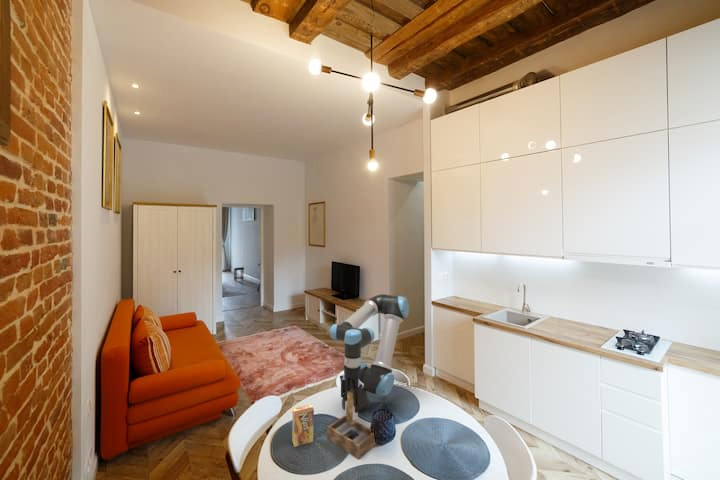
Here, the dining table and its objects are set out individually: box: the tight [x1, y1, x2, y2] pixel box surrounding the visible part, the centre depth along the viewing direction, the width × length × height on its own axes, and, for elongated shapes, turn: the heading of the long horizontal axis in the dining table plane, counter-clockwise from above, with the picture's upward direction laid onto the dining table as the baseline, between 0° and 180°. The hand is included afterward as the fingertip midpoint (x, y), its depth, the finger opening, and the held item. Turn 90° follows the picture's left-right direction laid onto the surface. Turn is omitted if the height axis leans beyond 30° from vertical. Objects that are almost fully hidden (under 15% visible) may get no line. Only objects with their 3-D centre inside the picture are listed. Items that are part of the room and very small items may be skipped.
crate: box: [326, 415, 377, 460], centre depth 135 cm, size 19×12×6 cm, turn 49°
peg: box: [347, 389, 356, 425], centre depth 134 cm, size 4×4×14 cm
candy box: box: [291, 404, 315, 448], centre depth 134 cm, size 9×4×15 cm, turn 116°
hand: (351, 416), depth 134 cm, fingers closed on peg, 4 cm apart
